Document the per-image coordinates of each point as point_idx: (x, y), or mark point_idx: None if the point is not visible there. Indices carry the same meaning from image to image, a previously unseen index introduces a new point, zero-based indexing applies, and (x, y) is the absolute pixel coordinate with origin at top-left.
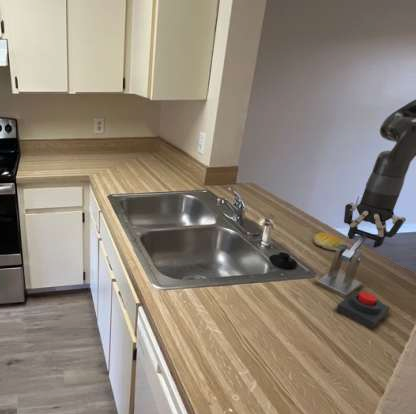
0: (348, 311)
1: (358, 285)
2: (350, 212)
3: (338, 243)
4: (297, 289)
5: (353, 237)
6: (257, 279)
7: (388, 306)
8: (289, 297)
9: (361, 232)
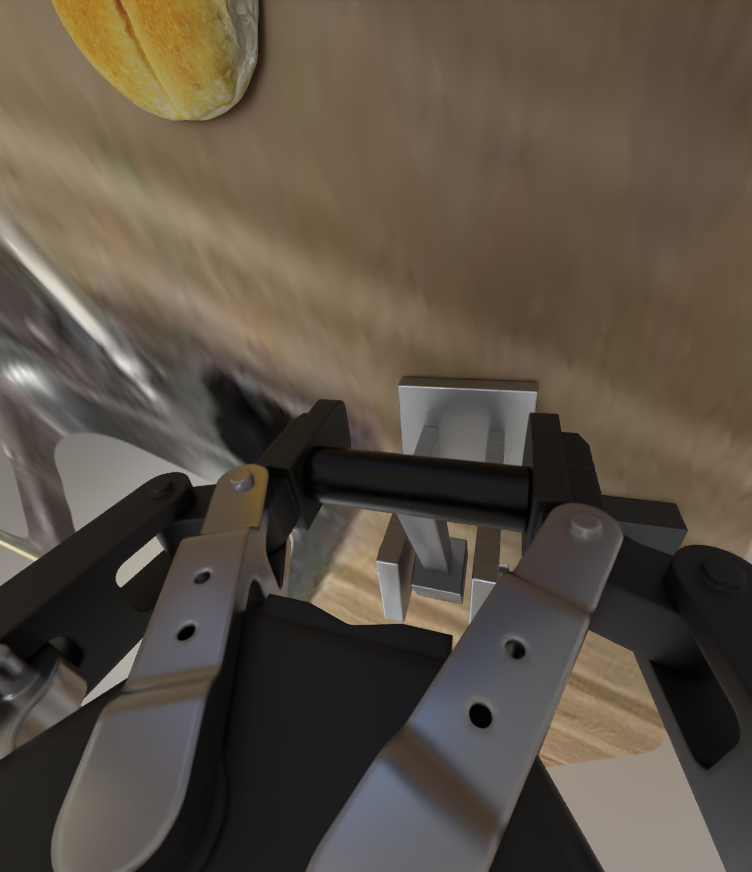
0: None
1: None
2: (96, 651)
3: (215, 9)
4: None
5: (343, 417)
6: (313, 567)
7: (680, 530)
8: None
9: (371, 508)
